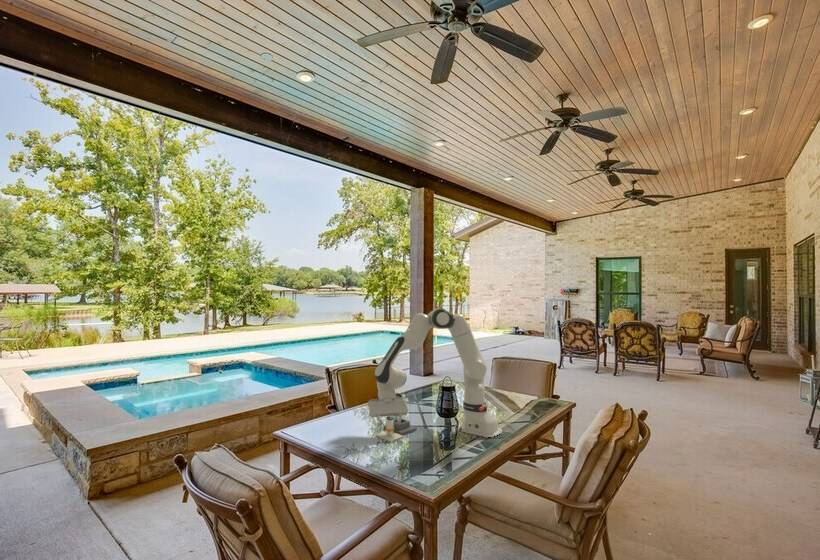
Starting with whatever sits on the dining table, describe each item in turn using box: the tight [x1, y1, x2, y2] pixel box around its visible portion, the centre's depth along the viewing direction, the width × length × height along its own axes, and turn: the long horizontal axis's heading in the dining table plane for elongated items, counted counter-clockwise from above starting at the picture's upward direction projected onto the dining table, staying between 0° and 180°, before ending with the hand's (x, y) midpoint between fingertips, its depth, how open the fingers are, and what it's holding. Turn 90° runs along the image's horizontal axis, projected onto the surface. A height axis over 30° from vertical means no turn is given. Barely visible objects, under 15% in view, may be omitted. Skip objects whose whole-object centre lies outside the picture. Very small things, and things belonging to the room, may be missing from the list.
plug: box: [385, 416, 395, 437], centre depth 203 cm, size 4×4×9 cm
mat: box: [375, 430, 405, 443], centre depth 203 cm, size 11×9×1 cm
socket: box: [383, 417, 417, 436], centre depth 214 cm, size 14×11×4 cm
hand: (390, 423), depth 203 cm, fingers open, 8 cm apart
